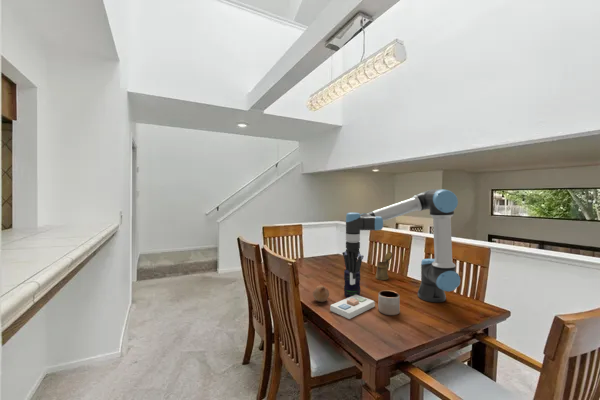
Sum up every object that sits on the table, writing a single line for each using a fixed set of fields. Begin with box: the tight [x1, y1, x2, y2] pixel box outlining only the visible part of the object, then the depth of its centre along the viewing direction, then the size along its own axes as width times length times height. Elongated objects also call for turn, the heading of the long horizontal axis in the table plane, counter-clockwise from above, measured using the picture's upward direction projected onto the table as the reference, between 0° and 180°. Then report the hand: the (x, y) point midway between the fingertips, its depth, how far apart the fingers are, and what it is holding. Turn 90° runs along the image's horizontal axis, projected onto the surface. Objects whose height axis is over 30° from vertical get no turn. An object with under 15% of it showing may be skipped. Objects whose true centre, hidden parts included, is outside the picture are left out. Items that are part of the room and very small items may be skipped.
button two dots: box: [356, 296, 368, 302], centre depth 159 cm, size 5×5×3 cm
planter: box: [377, 289, 401, 316], centre depth 150 cm, size 11×11×10 cm
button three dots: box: [347, 298, 359, 306], centre depth 154 cm, size 5×5×3 cm
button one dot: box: [338, 304, 351, 310], centre depth 150 cm, size 5×5×3 cm
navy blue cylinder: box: [343, 269, 361, 298], centre depth 173 cm, size 10×10×15 cm
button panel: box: [329, 295, 376, 320], centre depth 154 cm, size 13×22×3 cm, turn 131°
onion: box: [312, 285, 330, 303], centre depth 165 cm, size 10×9×10 cm
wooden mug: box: [375, 251, 393, 281], centre depth 204 cm, size 9×14×18 cm, turn 118°
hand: (352, 284), depth 154 cm, fingers closed
